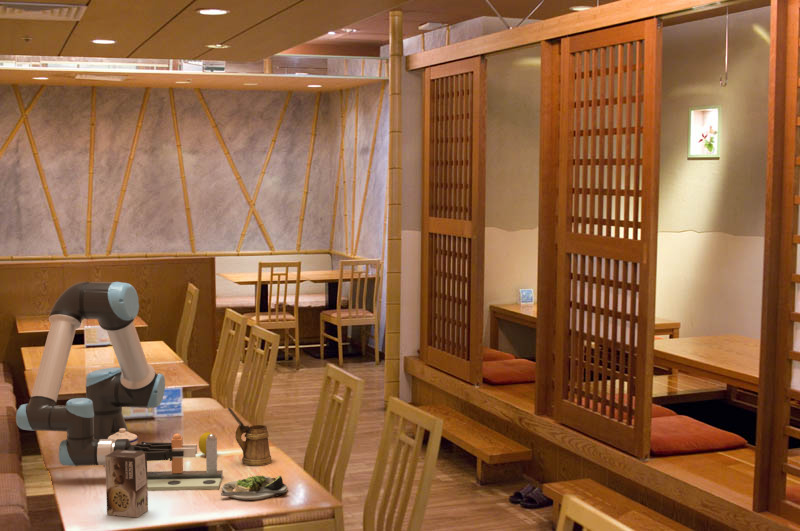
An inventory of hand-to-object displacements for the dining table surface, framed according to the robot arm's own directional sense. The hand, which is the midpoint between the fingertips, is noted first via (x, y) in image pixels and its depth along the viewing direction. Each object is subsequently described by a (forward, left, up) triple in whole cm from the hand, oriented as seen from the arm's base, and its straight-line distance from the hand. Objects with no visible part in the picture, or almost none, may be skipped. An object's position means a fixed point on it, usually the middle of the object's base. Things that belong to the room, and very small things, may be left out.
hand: (196, 450), depth 282 cm
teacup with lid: (-16, -24, -9) cm, 31 cm away
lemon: (-24, +1, -9) cm, 26 cm away
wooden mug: (-16, +15, -9) cm, 23 cm away
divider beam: (0, -6, -8) cm, 10 cm away
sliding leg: (0, -5, -6) cm, 8 cm away
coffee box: (+28, -14, -9) cm, 33 cm away
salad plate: (+12, +19, -9) cm, 24 cm away
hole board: (+6, -5, -8) cm, 12 cm away
